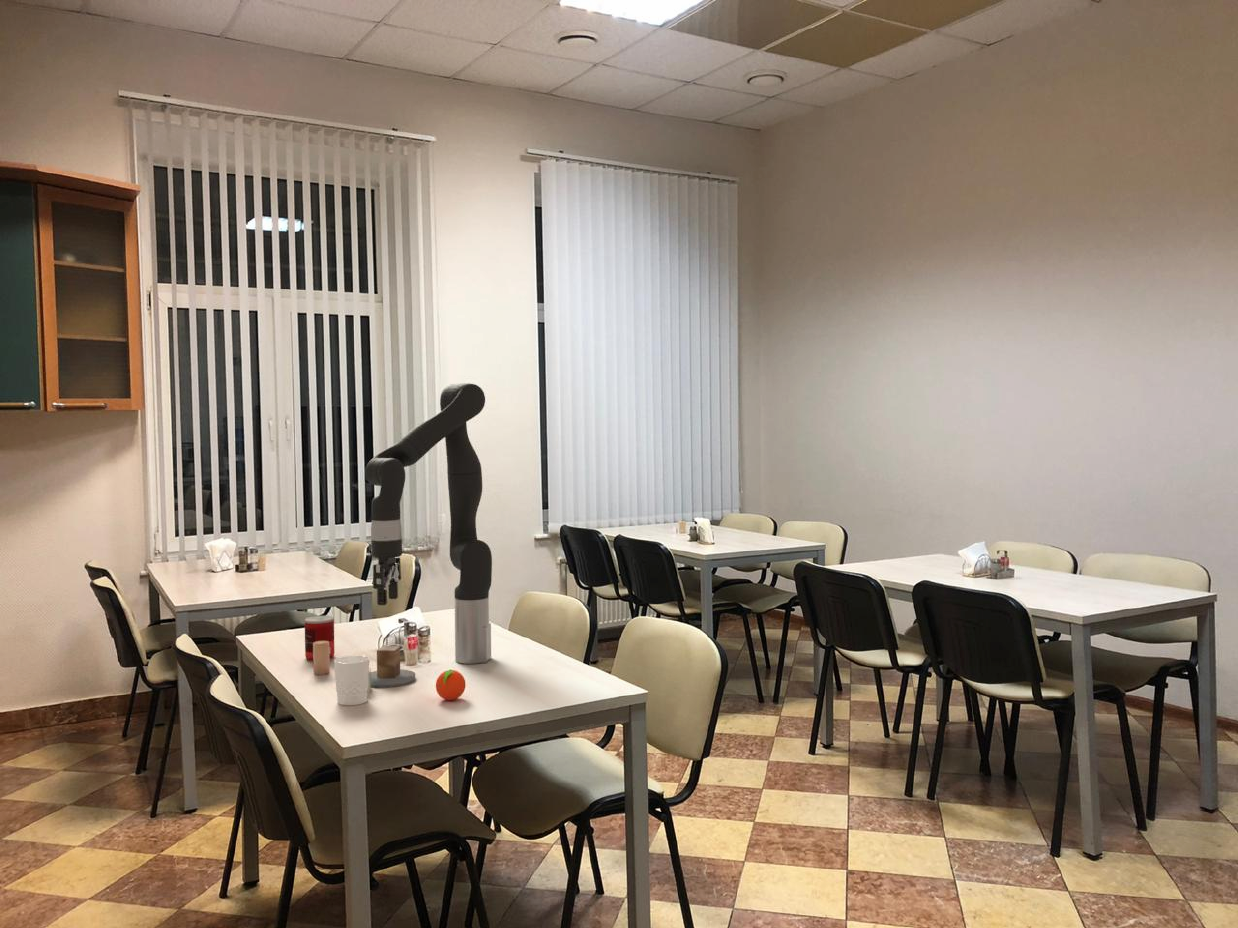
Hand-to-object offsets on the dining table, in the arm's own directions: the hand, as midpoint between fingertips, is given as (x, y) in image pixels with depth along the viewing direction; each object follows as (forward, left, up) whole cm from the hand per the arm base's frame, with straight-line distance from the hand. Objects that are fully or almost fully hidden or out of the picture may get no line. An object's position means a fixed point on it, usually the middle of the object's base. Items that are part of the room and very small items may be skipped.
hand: (387, 601), depth 244 cm
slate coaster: (0, 0, -20) cm, 20 cm away
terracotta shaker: (+20, -6, -20) cm, 29 cm away
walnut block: (0, 0, -19) cm, 19 cm away
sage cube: (+4, +10, -20) cm, 23 cm away
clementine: (-20, +16, -20) cm, 33 cm away
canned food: (+27, -22, -20) cm, 40 cm away
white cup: (+2, +19, -20) cm, 28 cm away
